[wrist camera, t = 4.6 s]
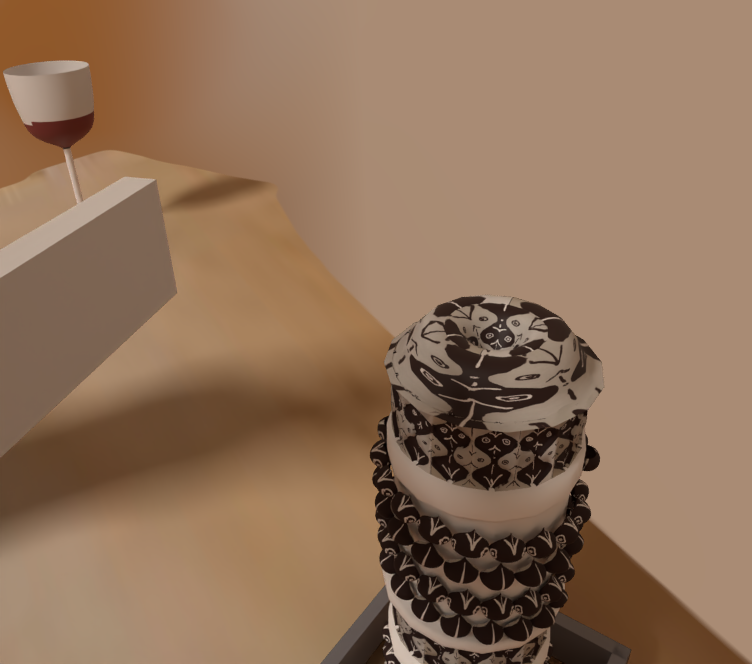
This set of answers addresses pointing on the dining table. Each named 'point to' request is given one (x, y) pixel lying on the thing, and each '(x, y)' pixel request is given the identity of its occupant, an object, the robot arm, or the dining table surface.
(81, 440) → the dining table surface
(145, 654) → the dining table surface
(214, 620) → the dining table surface
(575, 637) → the charcoal holder
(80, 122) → the wineglass
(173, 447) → the dining table surface
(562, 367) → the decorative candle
